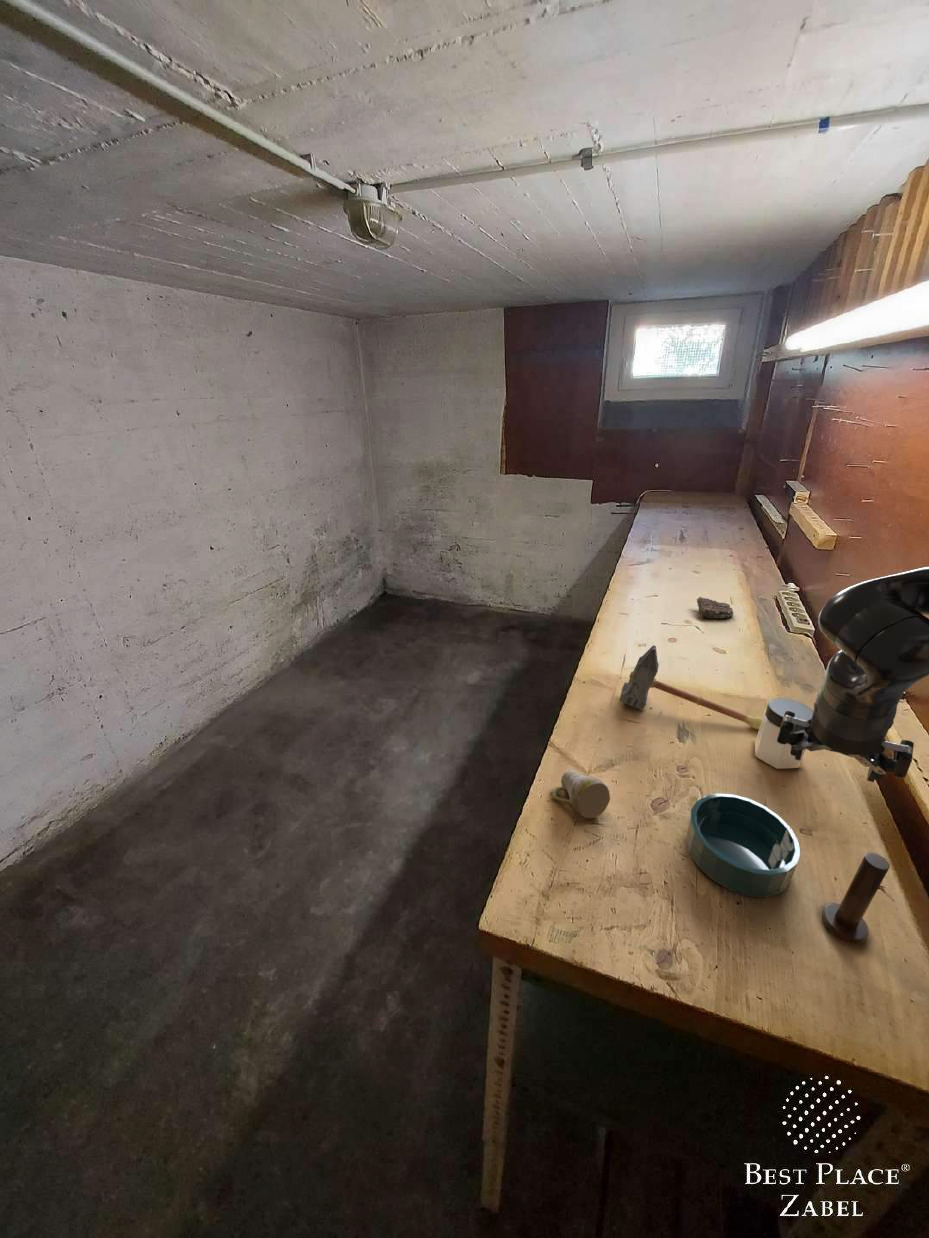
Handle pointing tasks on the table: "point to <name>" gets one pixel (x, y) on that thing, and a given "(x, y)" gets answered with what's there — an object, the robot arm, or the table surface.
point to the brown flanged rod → (856, 901)
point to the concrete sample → (714, 608)
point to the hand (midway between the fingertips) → (833, 764)
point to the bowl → (742, 844)
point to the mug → (584, 794)
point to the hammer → (668, 690)
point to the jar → (770, 730)
